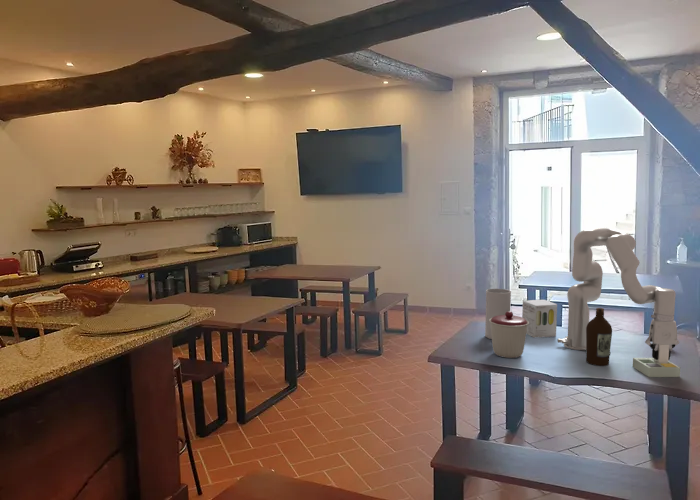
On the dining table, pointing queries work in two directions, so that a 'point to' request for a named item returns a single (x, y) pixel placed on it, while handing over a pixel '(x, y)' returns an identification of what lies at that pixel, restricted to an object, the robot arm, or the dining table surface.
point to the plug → (663, 354)
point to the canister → (508, 334)
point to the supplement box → (540, 318)
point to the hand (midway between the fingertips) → (661, 358)
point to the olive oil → (598, 340)
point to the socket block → (656, 368)
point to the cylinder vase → (496, 306)
